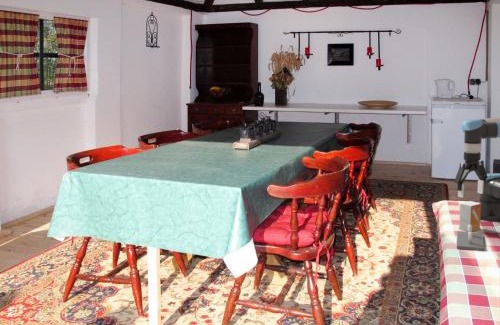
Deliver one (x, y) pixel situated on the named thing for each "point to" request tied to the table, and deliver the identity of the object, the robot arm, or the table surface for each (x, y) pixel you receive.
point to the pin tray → (474, 241)
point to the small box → (470, 215)
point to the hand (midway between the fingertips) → (470, 195)
